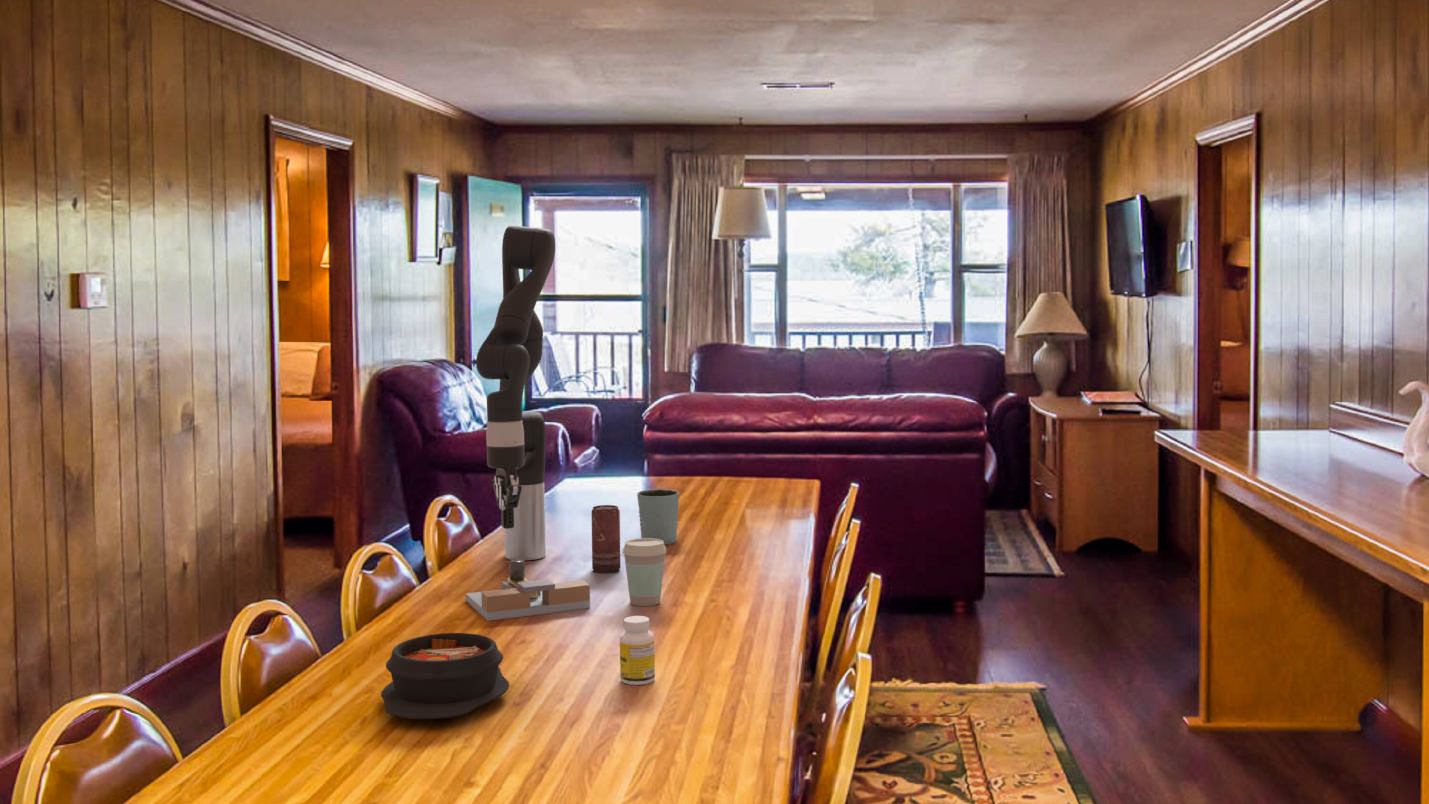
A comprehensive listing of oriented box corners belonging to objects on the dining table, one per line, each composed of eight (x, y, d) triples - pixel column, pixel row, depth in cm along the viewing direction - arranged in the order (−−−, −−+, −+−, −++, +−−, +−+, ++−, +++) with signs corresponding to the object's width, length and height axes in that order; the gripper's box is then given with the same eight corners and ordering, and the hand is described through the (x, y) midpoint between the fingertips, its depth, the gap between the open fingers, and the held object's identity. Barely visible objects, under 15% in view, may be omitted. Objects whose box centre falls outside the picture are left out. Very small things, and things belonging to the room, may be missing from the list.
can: (617, 574, 258) (616, 509, 257) (588, 572, 259) (587, 508, 258) (624, 567, 264) (624, 504, 263) (597, 566, 265) (596, 503, 264)
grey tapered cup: (682, 537, 296) (681, 489, 295) (676, 545, 286) (676, 496, 285) (641, 536, 297) (640, 488, 296) (634, 545, 287) (634, 495, 286)
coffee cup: (673, 599, 237) (673, 539, 236) (657, 609, 229) (656, 547, 228) (633, 595, 240) (632, 536, 239) (616, 606, 232) (615, 545, 231)
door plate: (466, 600, 236) (465, 573, 236) (563, 589, 245) (562, 562, 244) (487, 621, 222) (487, 591, 221) (590, 608, 230) (589, 580, 230)
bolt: (507, 587, 240) (506, 560, 239) (523, 585, 241) (522, 558, 241) (522, 599, 231) (521, 570, 230) (538, 597, 232) (537, 569, 232)
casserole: (410, 673, 192) (408, 622, 191) (525, 675, 191) (524, 623, 190) (355, 731, 167) (353, 672, 166) (487, 733, 166) (486, 673, 165)
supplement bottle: (620, 675, 190) (619, 614, 189) (654, 674, 190) (653, 613, 190) (620, 686, 185) (619, 624, 184) (655, 685, 185) (655, 623, 184)
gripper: (533, 445, 239) (535, 531, 240) (513, 439, 251) (516, 521, 252) (496, 447, 236) (499, 534, 237) (478, 441, 247) (480, 524, 249)
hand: (507, 527), depth 245 cm, fingers closed
